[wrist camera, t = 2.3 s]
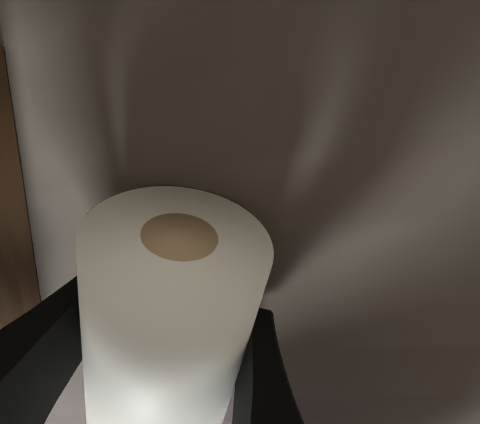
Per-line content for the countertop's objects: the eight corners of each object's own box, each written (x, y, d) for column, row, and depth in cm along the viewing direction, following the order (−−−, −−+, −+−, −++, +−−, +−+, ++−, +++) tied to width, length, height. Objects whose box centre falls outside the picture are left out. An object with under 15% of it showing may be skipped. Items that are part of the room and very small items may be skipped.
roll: (233, 361, 16) (209, 497, 12) (120, 334, 16) (57, 460, 12) (278, 207, 12) (267, 334, 7) (125, 171, 12) (27, 276, 8)
